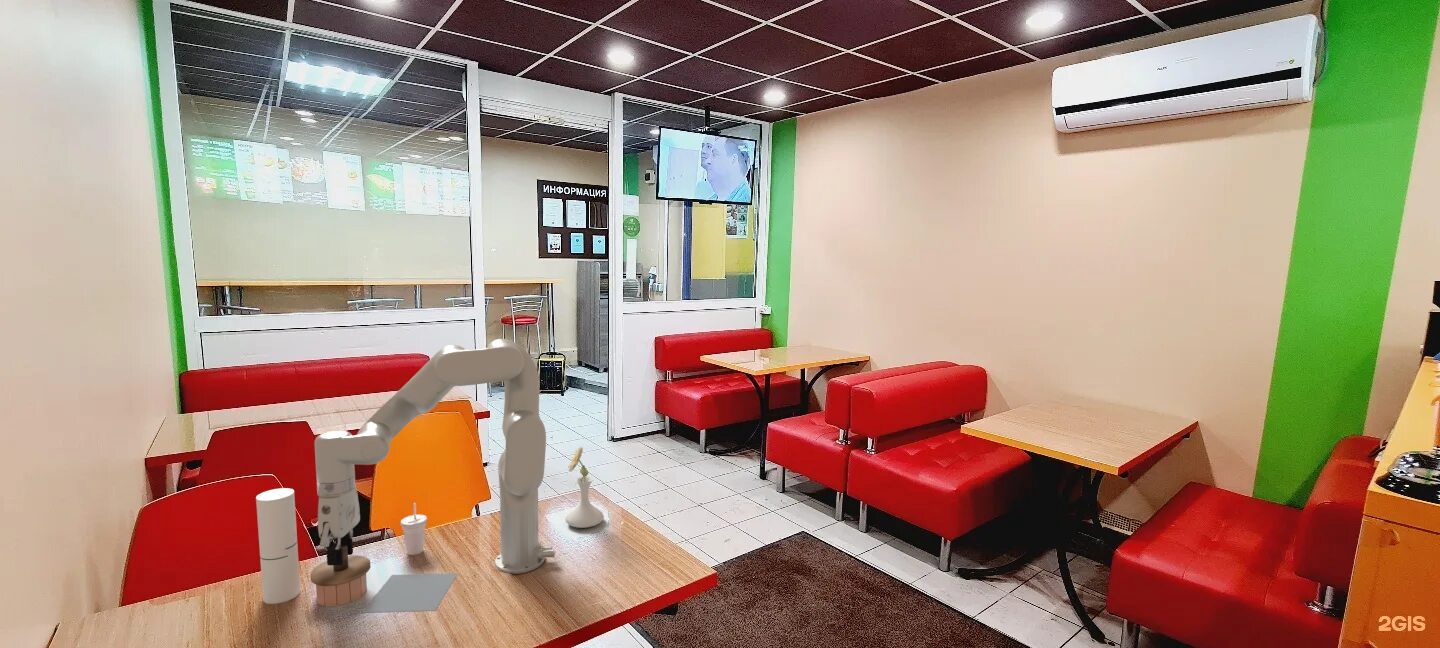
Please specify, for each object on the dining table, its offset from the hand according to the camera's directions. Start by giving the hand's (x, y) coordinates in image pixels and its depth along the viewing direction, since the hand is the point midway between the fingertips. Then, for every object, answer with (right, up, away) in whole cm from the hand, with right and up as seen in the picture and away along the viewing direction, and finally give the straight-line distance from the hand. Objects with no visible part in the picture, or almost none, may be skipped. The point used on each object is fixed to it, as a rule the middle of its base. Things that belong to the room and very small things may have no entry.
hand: (340, 558), depth 144 cm
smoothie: (+7, -7, +22) cm, 24 cm away
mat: (+16, -10, +3) cm, 19 cm away
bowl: (0, -9, +1) cm, 9 cm away
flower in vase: (+48, -6, +42) cm, 64 cm away
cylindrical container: (-14, -9, +1) cm, 17 cm away
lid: (0, -3, 0) cm, 3 cm away
